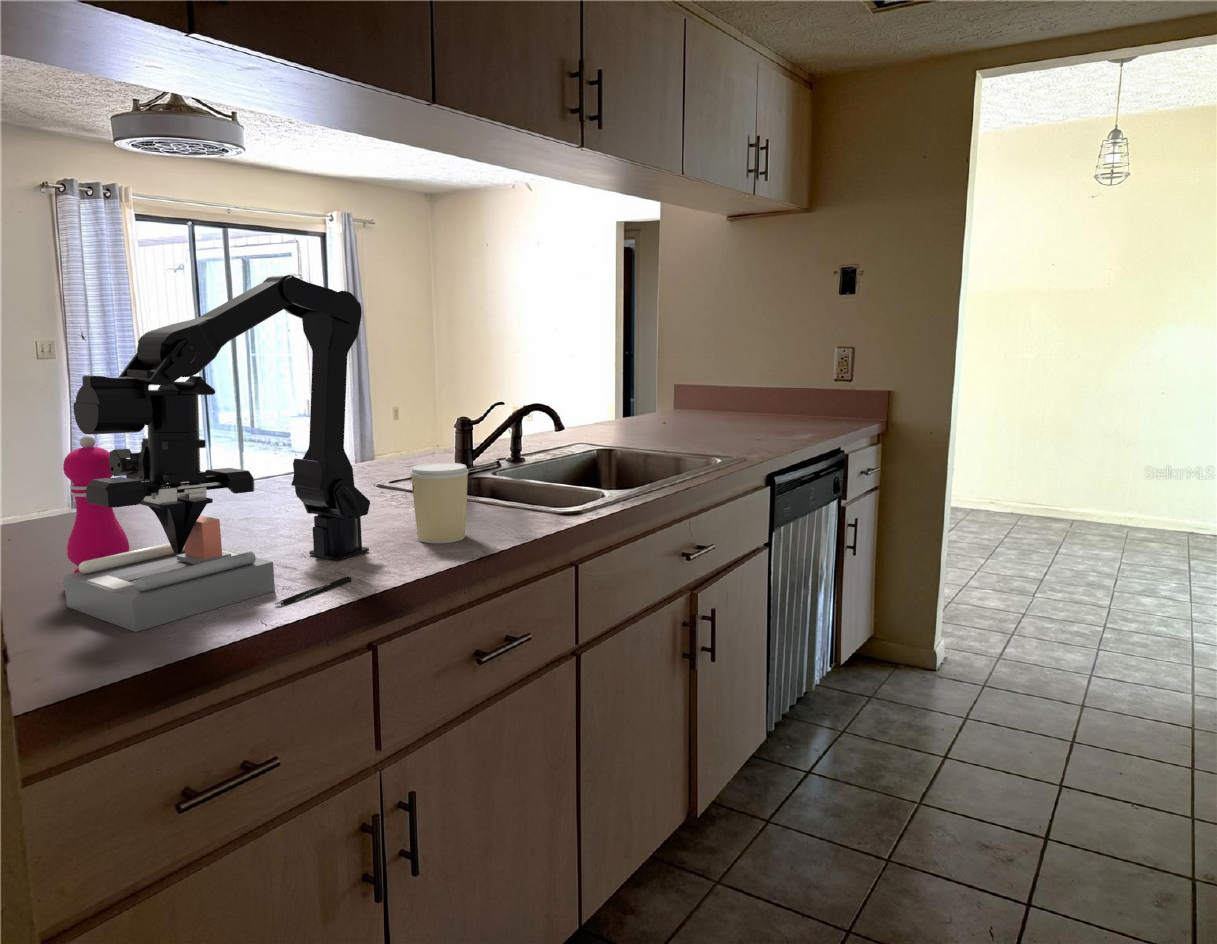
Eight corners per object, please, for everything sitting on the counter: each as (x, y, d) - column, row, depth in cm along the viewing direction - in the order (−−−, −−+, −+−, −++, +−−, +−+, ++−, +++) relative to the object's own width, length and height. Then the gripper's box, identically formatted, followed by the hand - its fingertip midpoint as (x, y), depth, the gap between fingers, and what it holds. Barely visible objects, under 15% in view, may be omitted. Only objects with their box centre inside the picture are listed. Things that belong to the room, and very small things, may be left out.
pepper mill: (142, 572, 116) (129, 432, 113) (113, 588, 109) (98, 438, 105) (90, 572, 116) (75, 432, 112) (58, 588, 109) (41, 439, 105)
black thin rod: (279, 610, 101) (279, 602, 101) (274, 608, 102) (273, 601, 102) (352, 583, 112) (351, 576, 112) (346, 582, 112) (346, 575, 112)
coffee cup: (436, 528, 142) (434, 460, 140) (481, 534, 138) (479, 464, 136) (400, 540, 134) (397, 468, 132) (447, 547, 130) (444, 473, 128)
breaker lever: (208, 552, 111) (205, 513, 110) (231, 558, 108) (228, 518, 107) (176, 559, 107) (173, 519, 106) (199, 565, 104) (196, 524, 103)
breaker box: (204, 571, 116) (201, 533, 115) (274, 590, 108) (272, 549, 107) (66, 606, 101) (61, 562, 100) (135, 632, 93) (130, 584, 92)
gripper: (207, 424, 115) (210, 534, 116) (60, 430, 99) (66, 556, 101) (255, 429, 109) (258, 545, 111) (108, 436, 93) (113, 570, 95)
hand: (177, 553), depth 104 cm, fingers closed
